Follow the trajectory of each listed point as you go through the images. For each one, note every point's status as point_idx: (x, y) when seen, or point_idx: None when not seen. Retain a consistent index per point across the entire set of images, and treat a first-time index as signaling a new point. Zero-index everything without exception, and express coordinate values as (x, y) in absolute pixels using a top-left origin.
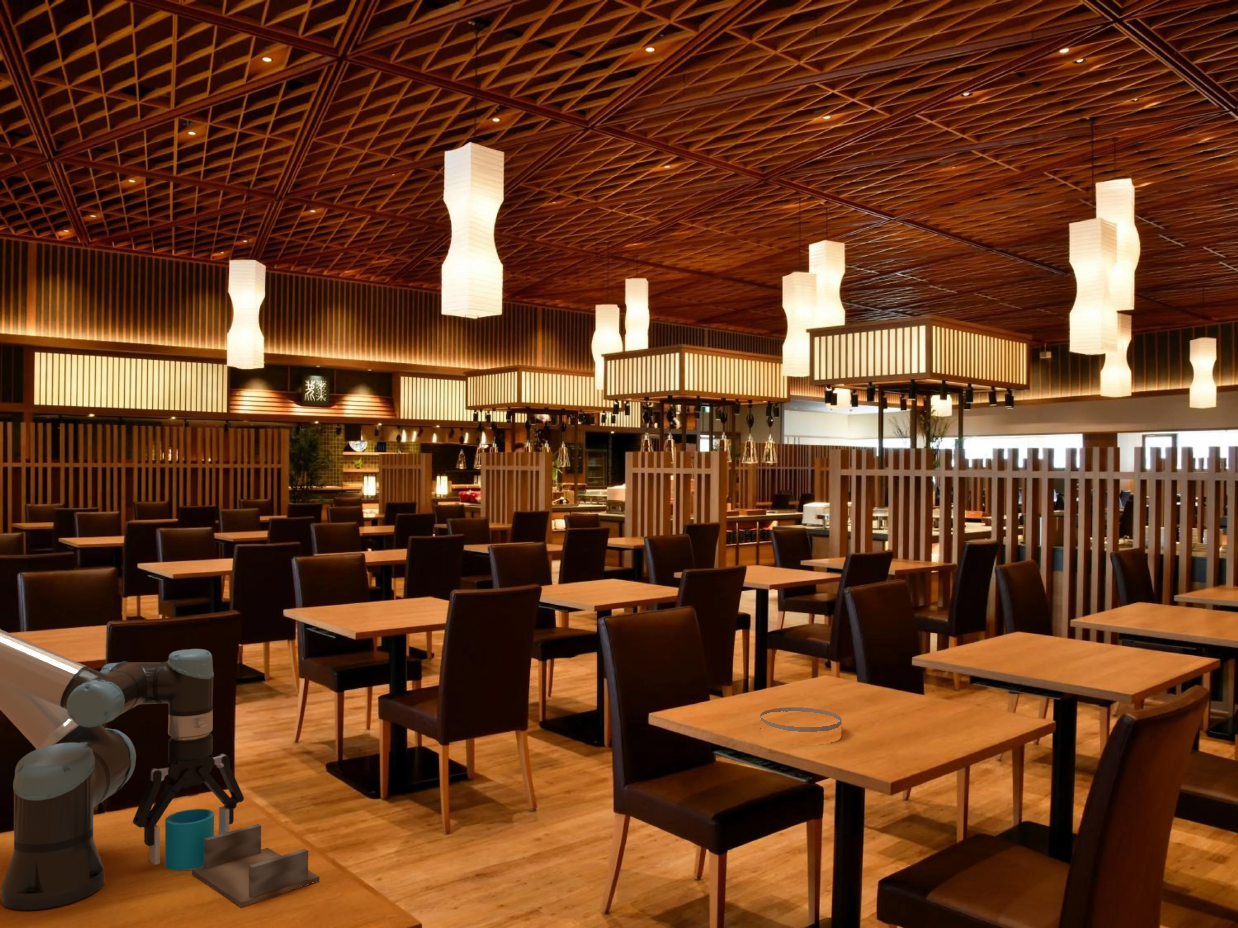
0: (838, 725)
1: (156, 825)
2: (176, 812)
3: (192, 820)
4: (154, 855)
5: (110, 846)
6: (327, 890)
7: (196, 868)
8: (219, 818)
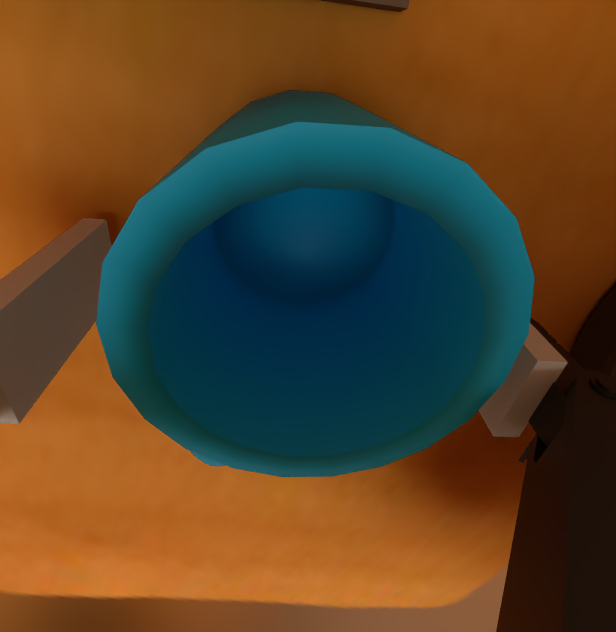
0: None
1: (515, 399)
2: (331, 473)
3: (242, 385)
4: None
5: (388, 487)
6: None
7: (380, 2)
8: (62, 356)
